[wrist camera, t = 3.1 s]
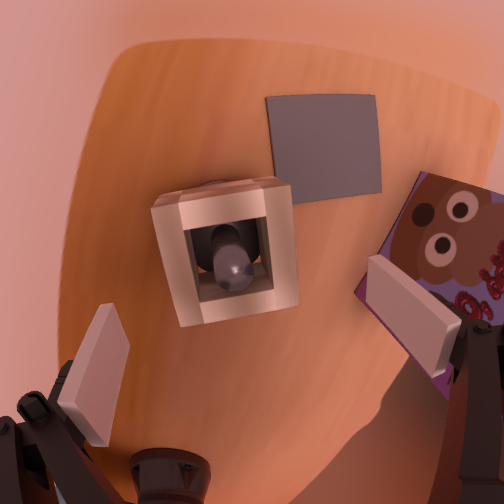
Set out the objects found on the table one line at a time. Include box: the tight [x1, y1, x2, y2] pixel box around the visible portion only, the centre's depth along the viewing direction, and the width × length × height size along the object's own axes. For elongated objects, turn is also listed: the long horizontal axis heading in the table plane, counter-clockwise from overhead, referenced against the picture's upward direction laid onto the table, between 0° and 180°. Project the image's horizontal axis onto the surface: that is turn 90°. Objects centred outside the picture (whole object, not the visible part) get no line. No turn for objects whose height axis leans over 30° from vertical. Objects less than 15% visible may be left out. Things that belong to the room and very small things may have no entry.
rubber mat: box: [265, 94, 382, 204], centre depth 29 cm, size 12×11×1 cm
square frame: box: [150, 176, 300, 327], centre depth 23 cm, size 9×9×5 cm
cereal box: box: [354, 171, 504, 419], centre depth 24 cm, size 17×5×24 cm, turn 153°
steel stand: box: [190, 180, 260, 291], centre depth 25 cm, size 8×8×13 cm
